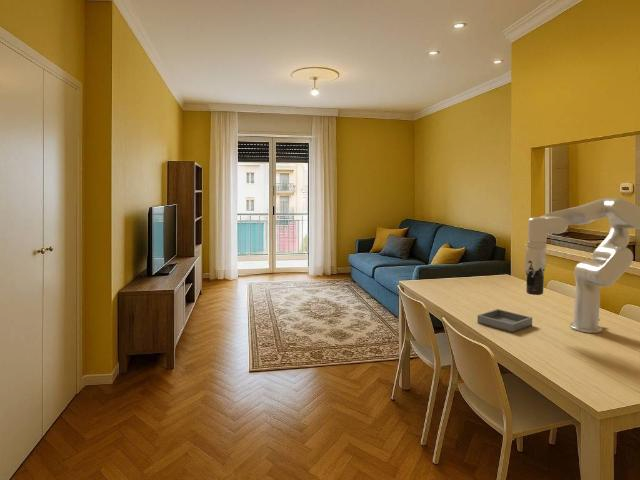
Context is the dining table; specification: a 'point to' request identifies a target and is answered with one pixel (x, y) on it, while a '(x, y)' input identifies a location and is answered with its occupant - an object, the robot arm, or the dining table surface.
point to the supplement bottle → (536, 284)
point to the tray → (505, 320)
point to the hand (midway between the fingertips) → (534, 284)
